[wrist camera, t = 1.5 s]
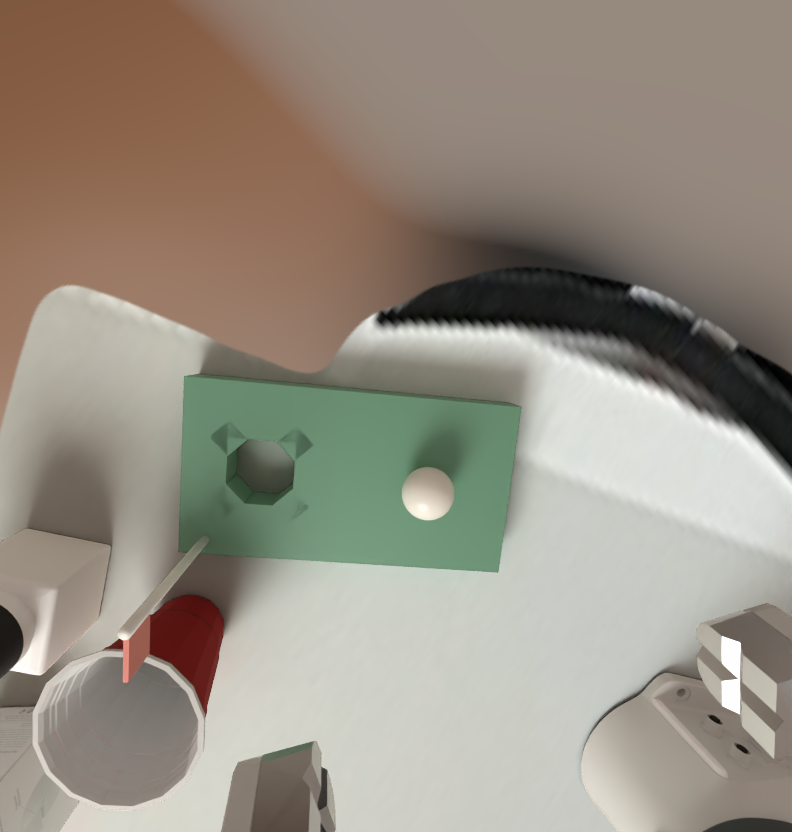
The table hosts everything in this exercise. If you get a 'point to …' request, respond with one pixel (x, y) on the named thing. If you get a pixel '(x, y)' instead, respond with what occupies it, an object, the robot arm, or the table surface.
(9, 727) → the skincare box
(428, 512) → the ball
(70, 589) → the medicine bottle
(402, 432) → the putting deck
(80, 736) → the plastic cup
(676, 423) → the table surface
